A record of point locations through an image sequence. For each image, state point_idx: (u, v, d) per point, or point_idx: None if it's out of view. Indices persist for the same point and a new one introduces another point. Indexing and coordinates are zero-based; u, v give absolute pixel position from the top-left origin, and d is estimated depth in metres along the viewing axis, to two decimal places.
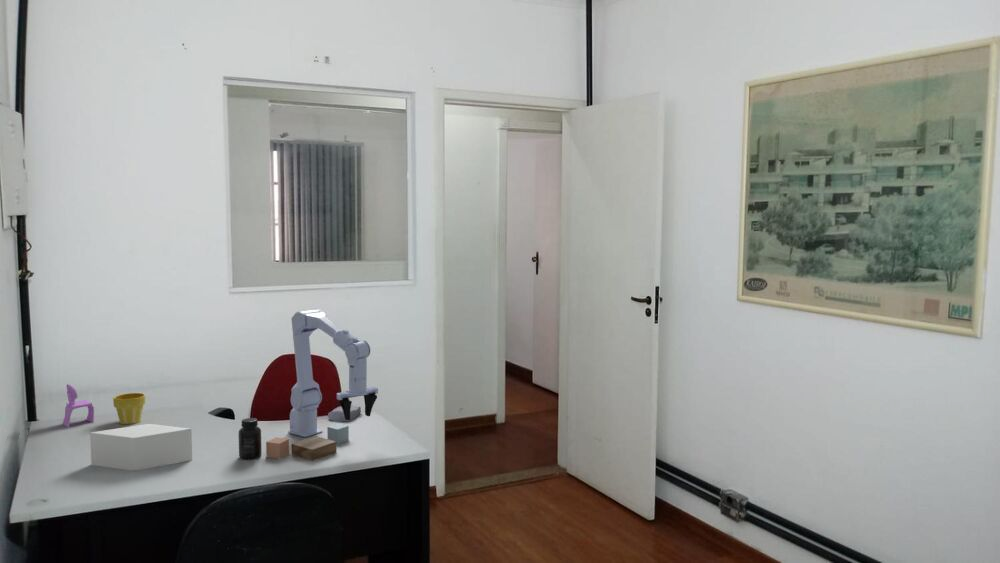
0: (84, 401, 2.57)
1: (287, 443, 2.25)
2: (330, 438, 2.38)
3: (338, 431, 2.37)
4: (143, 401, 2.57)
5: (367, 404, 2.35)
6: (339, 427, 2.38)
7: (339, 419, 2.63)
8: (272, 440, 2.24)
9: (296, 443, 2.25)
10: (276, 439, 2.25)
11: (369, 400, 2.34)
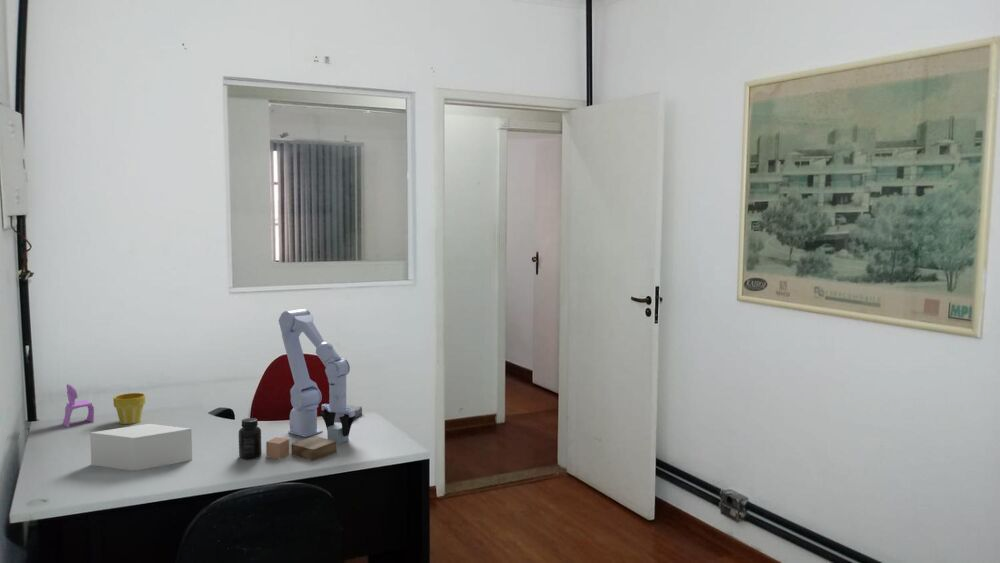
0: (84, 401, 2.57)
1: (287, 443, 2.25)
2: (330, 438, 2.38)
3: (338, 431, 2.37)
4: (143, 401, 2.57)
5: None
6: (339, 427, 2.38)
7: None
8: (272, 440, 2.24)
9: (296, 443, 2.25)
10: (276, 439, 2.25)
11: None
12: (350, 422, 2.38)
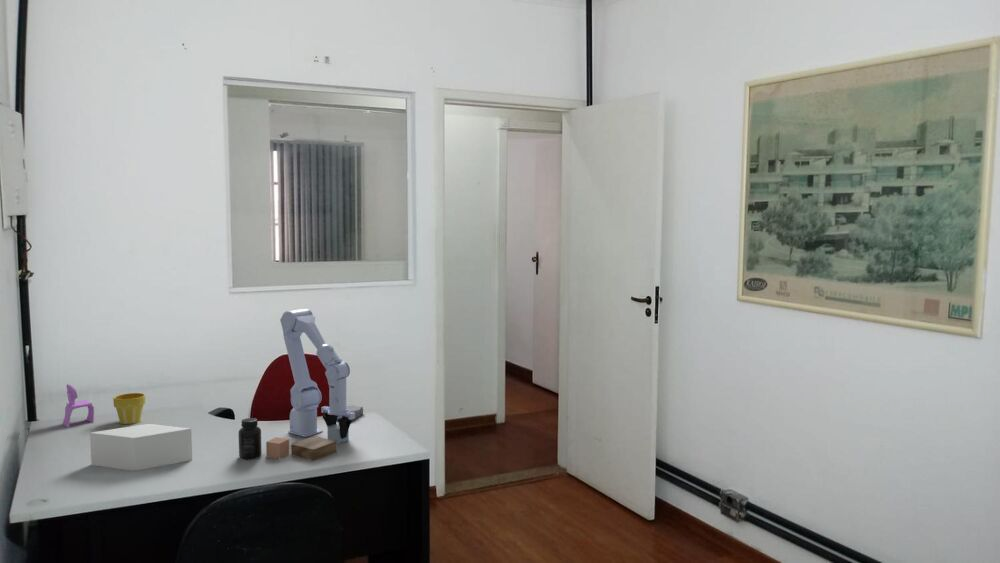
0: (84, 401, 2.57)
1: (287, 443, 2.25)
2: (330, 438, 2.38)
3: (338, 431, 2.37)
4: (143, 401, 2.57)
5: None
6: (339, 427, 2.38)
7: None
8: (272, 440, 2.24)
9: (296, 443, 2.25)
10: (276, 439, 2.25)
11: None
12: (348, 424, 2.38)
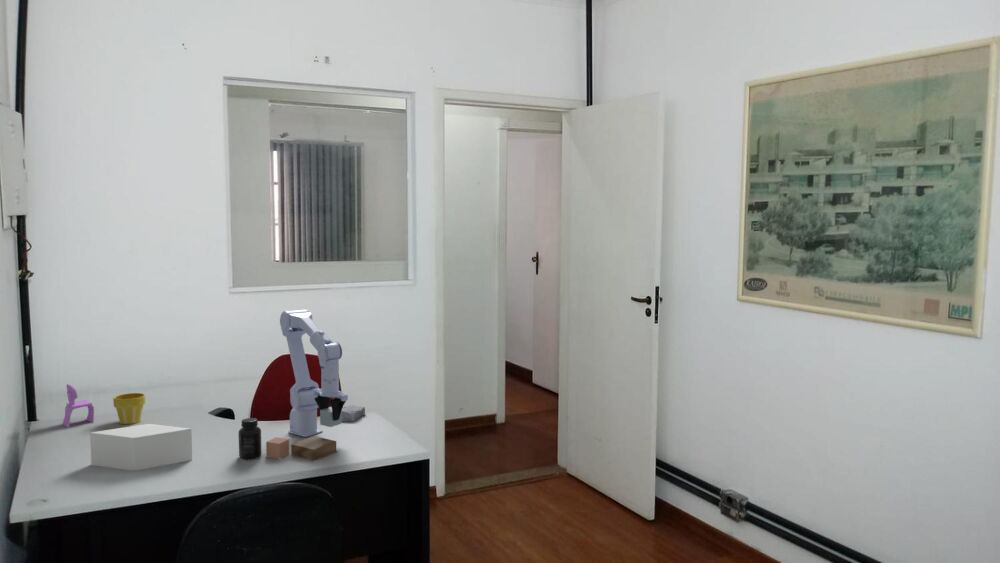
0: (84, 401, 2.57)
1: (287, 443, 2.25)
2: (323, 421, 2.33)
3: (331, 414, 2.32)
4: (143, 401, 2.57)
5: None
6: None
7: (343, 419, 2.62)
8: (272, 440, 2.24)
9: (296, 443, 2.25)
10: (276, 439, 2.25)
11: None
12: (340, 406, 2.33)
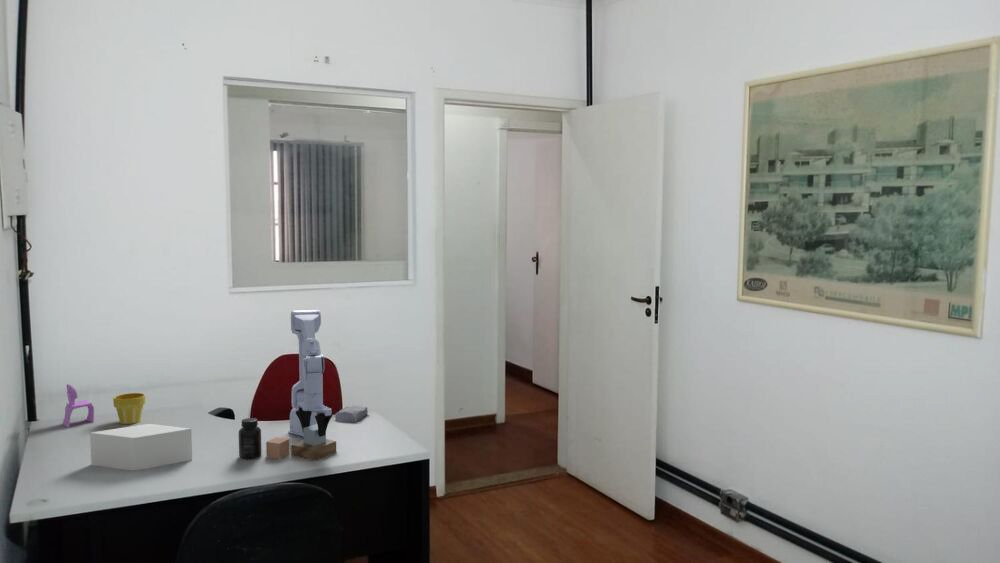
0: (84, 401, 2.57)
1: (287, 443, 2.25)
2: (306, 440, 2.25)
3: (315, 432, 2.23)
4: (143, 401, 2.57)
5: None
6: (316, 428, 2.25)
7: (346, 420, 2.62)
8: (272, 440, 2.24)
9: (296, 444, 2.24)
10: (276, 439, 2.25)
11: None
12: (326, 421, 2.24)
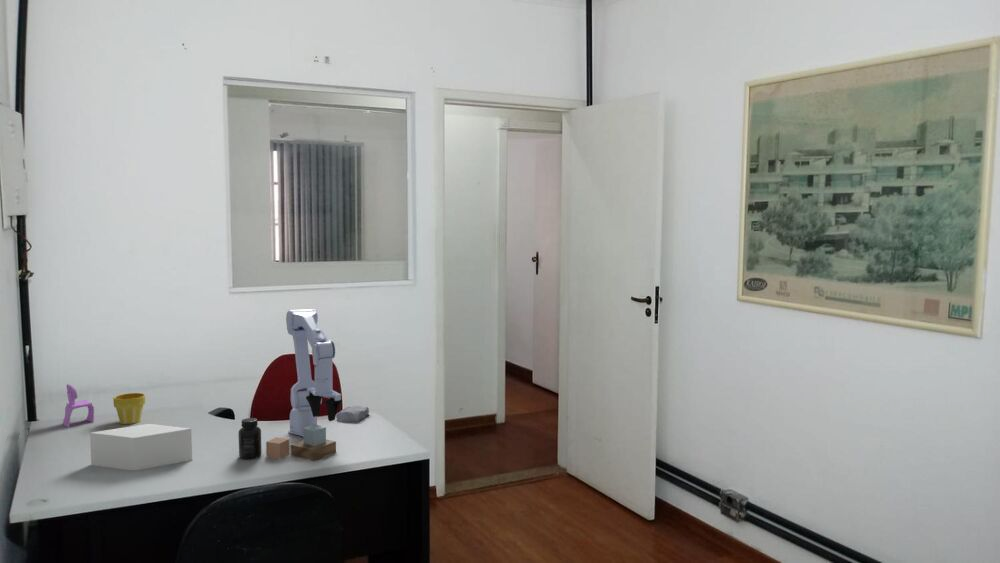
0: (84, 401, 2.57)
1: (287, 443, 2.25)
2: (306, 440, 2.25)
3: (315, 433, 2.23)
4: (143, 401, 2.57)
5: None
6: (316, 428, 2.24)
7: (347, 420, 2.62)
8: (272, 440, 2.24)
9: (296, 444, 2.24)
10: (276, 439, 2.25)
11: None
12: (336, 406, 2.28)
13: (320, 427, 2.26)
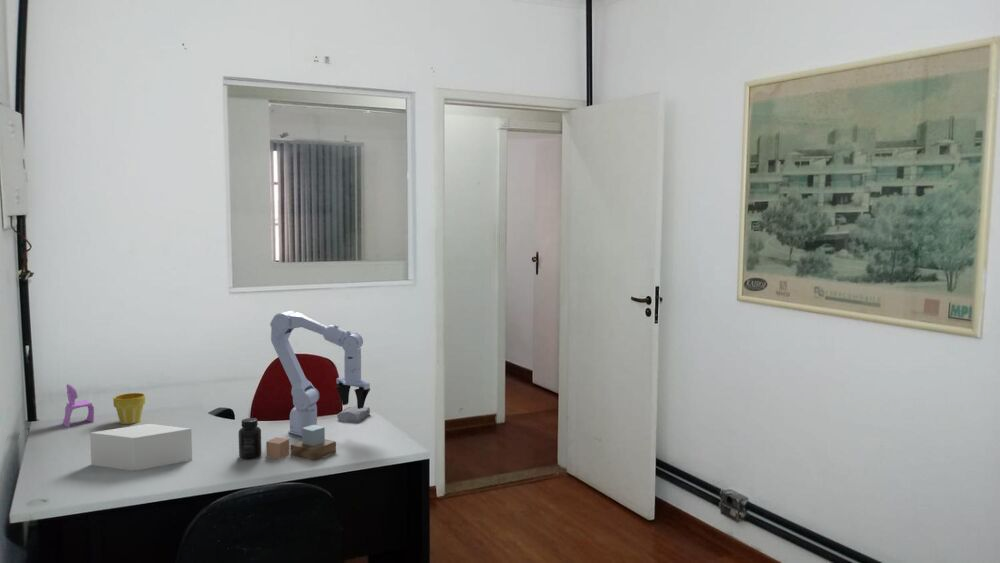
0: (84, 401, 2.57)
1: (287, 443, 2.25)
2: (305, 440, 2.24)
3: (313, 433, 2.23)
4: (143, 401, 2.57)
5: None
6: (314, 428, 2.24)
7: (349, 420, 2.62)
8: (272, 440, 2.24)
9: (295, 444, 2.24)
10: (276, 439, 2.25)
11: None
12: (365, 395, 2.43)
13: (319, 427, 2.26)
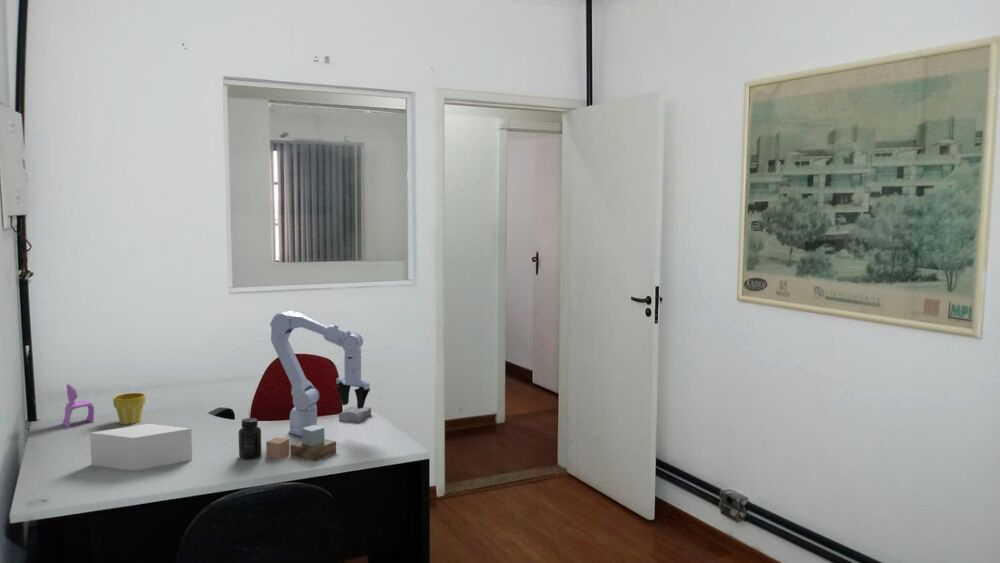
0: (84, 401, 2.57)
1: (287, 443, 2.25)
2: (304, 440, 2.24)
3: (313, 433, 2.22)
4: (143, 401, 2.57)
5: None
6: (314, 429, 2.24)
7: (350, 420, 2.62)
8: (272, 440, 2.24)
9: (295, 444, 2.24)
10: (276, 439, 2.25)
11: None
12: (365, 395, 2.43)
13: (318, 427, 2.25)
